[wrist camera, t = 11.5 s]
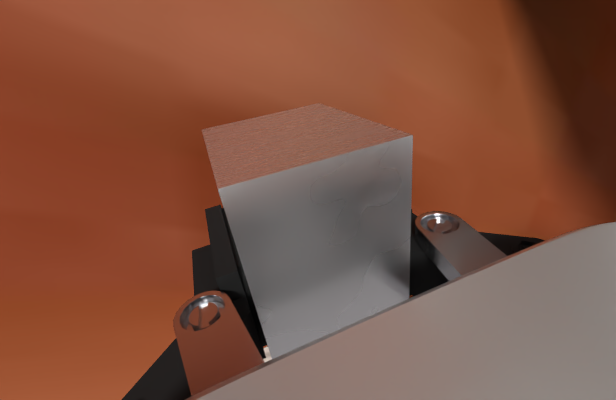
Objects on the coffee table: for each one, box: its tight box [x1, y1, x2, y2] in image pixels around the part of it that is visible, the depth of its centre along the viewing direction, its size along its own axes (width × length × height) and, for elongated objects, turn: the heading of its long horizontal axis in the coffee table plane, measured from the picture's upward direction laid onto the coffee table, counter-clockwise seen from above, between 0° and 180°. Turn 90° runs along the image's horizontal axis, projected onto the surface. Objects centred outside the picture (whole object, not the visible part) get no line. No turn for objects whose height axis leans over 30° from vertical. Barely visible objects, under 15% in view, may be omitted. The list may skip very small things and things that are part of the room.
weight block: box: [202, 103, 413, 359], centre depth 10 cm, size 4×8×5 cm, turn 10°
